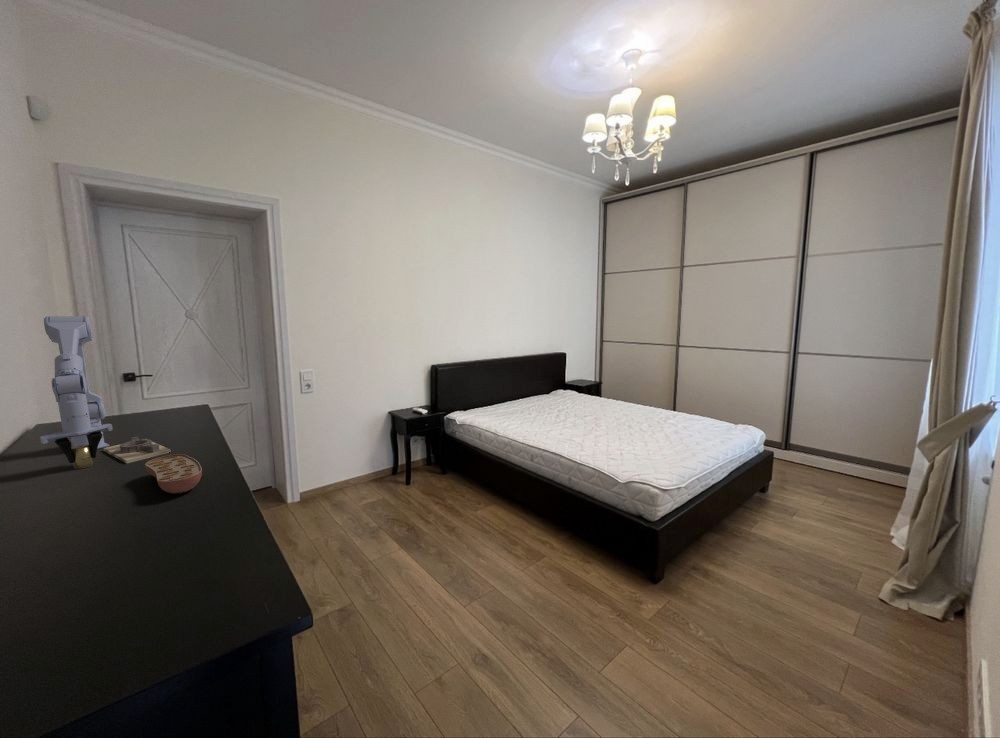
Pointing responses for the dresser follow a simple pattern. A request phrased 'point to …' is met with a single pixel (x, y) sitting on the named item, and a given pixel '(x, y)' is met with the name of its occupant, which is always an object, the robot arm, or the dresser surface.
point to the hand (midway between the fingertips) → (82, 459)
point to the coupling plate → (134, 455)
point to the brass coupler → (82, 456)
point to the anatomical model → (175, 472)
